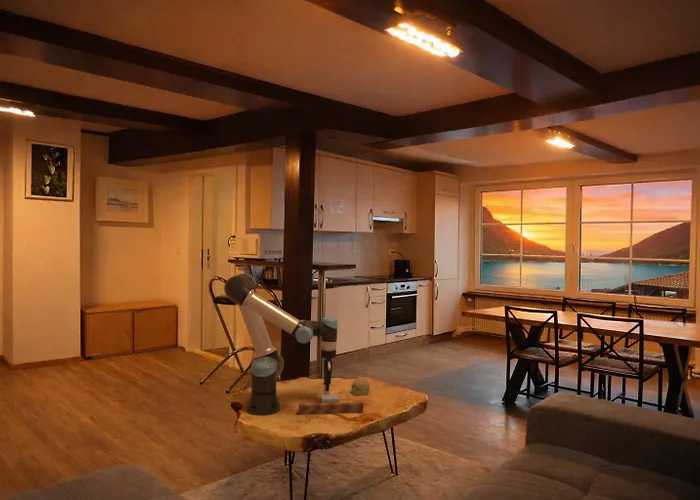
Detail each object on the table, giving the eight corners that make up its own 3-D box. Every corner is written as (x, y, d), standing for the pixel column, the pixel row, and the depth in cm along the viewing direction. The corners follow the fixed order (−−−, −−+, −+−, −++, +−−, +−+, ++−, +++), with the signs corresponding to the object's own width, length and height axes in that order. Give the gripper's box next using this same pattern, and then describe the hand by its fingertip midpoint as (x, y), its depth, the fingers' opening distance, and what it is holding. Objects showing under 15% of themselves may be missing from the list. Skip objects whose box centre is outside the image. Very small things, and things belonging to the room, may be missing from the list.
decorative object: (356, 403, 273) (367, 389, 270) (344, 389, 278) (354, 375, 275) (366, 400, 281) (376, 386, 278) (354, 386, 286) (363, 372, 283)
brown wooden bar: (298, 414, 245) (299, 405, 244) (298, 412, 248) (298, 403, 247) (363, 412, 250) (363, 403, 249) (361, 410, 253) (362, 401, 252)
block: (322, 412, 250) (322, 399, 249) (320, 407, 256) (321, 394, 256) (339, 411, 251) (339, 398, 251) (337, 406, 258) (337, 394, 258)
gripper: (338, 352, 254) (335, 401, 256) (334, 346, 267) (332, 392, 268) (322, 352, 253) (320, 401, 254) (319, 345, 266) (317, 392, 267)
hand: (326, 396), depth 261 cm, fingers closed
